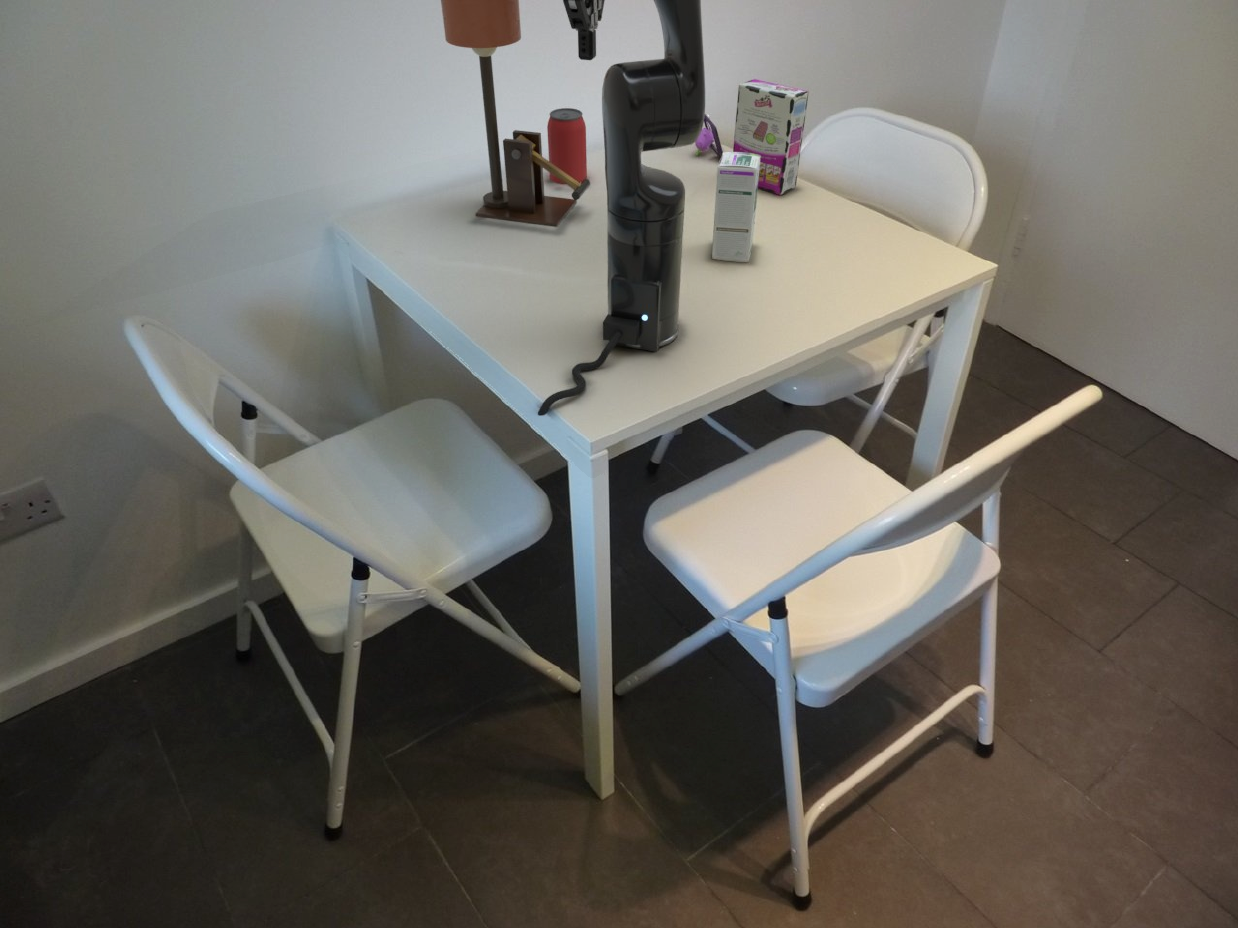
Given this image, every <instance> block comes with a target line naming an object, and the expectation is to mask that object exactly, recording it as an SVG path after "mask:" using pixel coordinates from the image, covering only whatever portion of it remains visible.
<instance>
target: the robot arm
mask: <svg viewBox="0 0 1238 928" xmlns="http://www.w3.org/2000/svg"><path fill="white" fill-rule="evenodd" d="M562 2H563V5H564V6H563V7H564V9H565V12H566V15H567V19H568V21H569V24H570V28H571V29H572V30H575V31H576V32H577V52H578V56H577V57H578V59H580V60H582V61H592V60H594V59H595V58H596V57H597V30H598V27H599V22H601V21H602V18H603V12H604V6H605V0H562ZM653 3H654V5H655V8H656V11H657V13H658V17H659V22H660V25H661V32H662V39H663V48H664V49H663V51H664V52H663V54H664V56H663V58H658V59H657V58H655V59H647V60H635V61H634V60H633V61H627V62H625V61H624V62H619V63H615V64H612V65H611V66H610V67H609V68H608V69H607V70H606V71H605V74H604V78H603V81H602V89H601V113H602V114H601V116H602V129H603V142H604V146H603V147H604V174H605V185H606V196H607V197H606V205H607V207H606V208H607V210H606V211H607V215H606V217H607V229H606V230H607V232H606V233H607V235H606V239H607V243H606V244H607V246H606V247H607V248H606V249H607V314H606V316H605V318H604V320H603V321H602V341H608V342H607V344H606V345H605V346H604V348H603V349H602V351H601V353H600V355H599V356H598V357H597V359H596V360H593V361H590V362H580V363H578V364H576V365H574V367H573V368H572V369H571V375H572V377H573V379H574V380H575V381H576V382H577V385H576V386H574V387H572V388H567V389H564V390H560V391H556V392H555V393H552V394H551V395H549V396H548V397H547V398H546V399H545V400H544V401H543V402H542V404H541V406H540V407H539V409H538V411H537V415H538V416H540V417H542V416H545V415H547V413H548V411H549V409H550V408H551V407H552V405H553V404H554V403H556V402H558V401H560V400H563V399H567V398H571V397H574V396H577V395H579V394H581V393H582V392H583V391H585V389H586V387H587V382H586V379H585V377H583V375H582V373H581V372H582V371H591V370H595V369H598V368H600V367H601V366H603V365H604V364H605V362H606V361H607V359H608V357H609V356H610V354H611V352H612V351H613V349H614V348H615V347H616V346H619V347H623V348H631V349H636V350H643V351H649V352H657V351H658V350H659V349H660V347H664V346H666V345H668V344H670V343H672V342H673V341H674V340H675V339H676V338H677V337H678V335H679V311H680V292H681V275H682V274H681V273H682V259H683V258H682V257H683V241H684V240H683V239H684V238H683V237H684V226H685V225H684V223H685V205H686V188H685V185H684V183H683V181H682V180H681V179H680V178H679V177H678V176H676V175H675V174H673V173H670V172H668V171H666V170H662V169H658V168H655V167H651V166H648V165H645V164H643V163H642V153H645V152H651V151H662V150H667V149H675V148H677V149H678V148H684V147H689V146H691V145H693V144H695V142H696V141H697V139H698V138H699V136H700V134H701V131H702V129H703V128H704V124H705V123H704V116H705V114H706V74H705V55H704V54H705V53H704V39H703V22H702V20H703V19H702V0H653ZM539 581H540V582H539V583H540V587H541V588H547V586H548V578H547V577H543V576H540V577H539Z"/></svg>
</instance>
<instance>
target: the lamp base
mask: <svg viewBox="0 0 1238 928" xmlns="http://www.w3.org/2000/svg"><path fill="white" fill-rule="evenodd" d="M520 135H522V136H524V137H525V138H527V139H528V140H529V141H523V140H516V138H518V137H519V136H520ZM532 143H534V144H535V145H536V146H535V148H534V151H535V152H536V153H538V154H539V155H541V156H542V157H543V148H542V133H541V132H538V131H537V132H536V131H526V130H519V129H518V130H517V129H514V130H513V131H512V138H504V139H503V140H502V146H503V147H502V149H503V158H504V159H503V160H504V169H505V170H504V171H505V182H506V190H504V191H505V192H507V195H508V207H506V208H501V209H494V208H489V207H486V206H485V205H484V204H483V206H481V207H480V208H479V209H478V210H477V211H476V212H475V217H477V218H479V217H480V218H485V219H487V218H488V219H494V220H500V221H501V220H502V221H507V222H516V223H523V224H531V225H539V226H545V227H553V228H557V227H558V226H559V225H560V224H561V223H562V221H563V220H564V219H566V218H565V217H566V216H567V215H568V214H569V213H570V212H571V210H573V208H574V207H575V206H576V205H577V203H578V200H574V199H573V198H564V197H558V196H550V195H545V185H544V168H543V167H541V166H540V165H538V164H537V163H535V162H534V161H533V156H532Z"/></svg>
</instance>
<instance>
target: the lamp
mask: <svg viewBox="0 0 1238 928" xmlns="http://www.w3.org/2000/svg"><path fill="white" fill-rule="evenodd" d="M440 5H441V11H442V22H443V29H444V38H445V41H446V43H447V44H450V45H452V46H455V47H459V48H467V49H472V52H474V54H476V56H478V59H479V60H478V61H479V69H480V70H479V71H480V80H481V90H482V101H483V111H484V112H483V113H484V121H485V132H486V142H487V143H486V144H487V151H488V163H489V173H490V183H491V191H489V192H487V193H485V194H484V195H483V197H482V202H483V203H482V204H483V206H484V205H485V206H486V207H489V208H494V209H501V208H506V207H508V195H507V192H505V191H506V190H504V185H503V184H504V183H503V174H502V173H503V171H502V162H501V151H500V140H499V129H498V128H499V127H498V118H497V117H498V116H497V104H496V95H495V94H496V93H495V83H494V72H493V71H494V70H493V59H492V56H493V55H494V54H495V53H496V51H497V49H498V48H501V47H505V46H506V47H507V46H509V45H513V44H515V43H517V42H519V41H520V40H521V39H522V31H521V15H520V14H521V12H520V0H440Z"/></svg>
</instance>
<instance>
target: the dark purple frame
mask: <svg viewBox="0 0 1238 928" xmlns="http://www.w3.org/2000/svg"><path fill="white" fill-rule="evenodd" d="M703 124H704V127H702V131H701V134H700V136H699V138H698V139H697V141H696V142H695V143H694V145H695V147H696V149H697V151H696V152H695V153H696V154H695V157H698V156H699V155H700V153H701V152H706V151H707V150H709V148H710V147H711V148H712V149H713V151H714V152H715V154H717V156H718V158H720V159H721V156H722V154H723V152H724V150H723V148H722V144H721V140H720V137H719V132H718V129H717V126H716V125H715V124H714V123H713V121H712V120H711V117H710V115H709V114H707V113H705V116H704V123H703Z"/></svg>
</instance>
